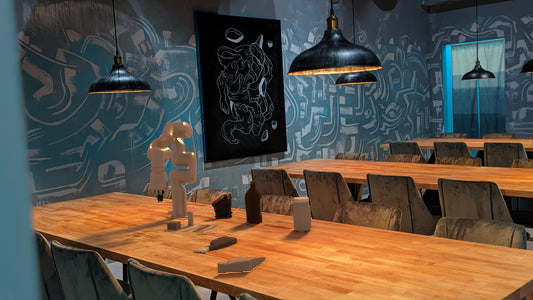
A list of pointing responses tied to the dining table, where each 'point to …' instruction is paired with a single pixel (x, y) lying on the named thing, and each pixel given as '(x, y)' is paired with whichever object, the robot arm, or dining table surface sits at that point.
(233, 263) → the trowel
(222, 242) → the brown brush
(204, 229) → the panel
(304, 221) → the jar
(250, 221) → the olive oil
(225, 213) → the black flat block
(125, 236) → the dining table surface
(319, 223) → the dining table surface
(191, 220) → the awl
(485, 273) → the dining table surface
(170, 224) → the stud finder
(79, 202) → the dining table surface
